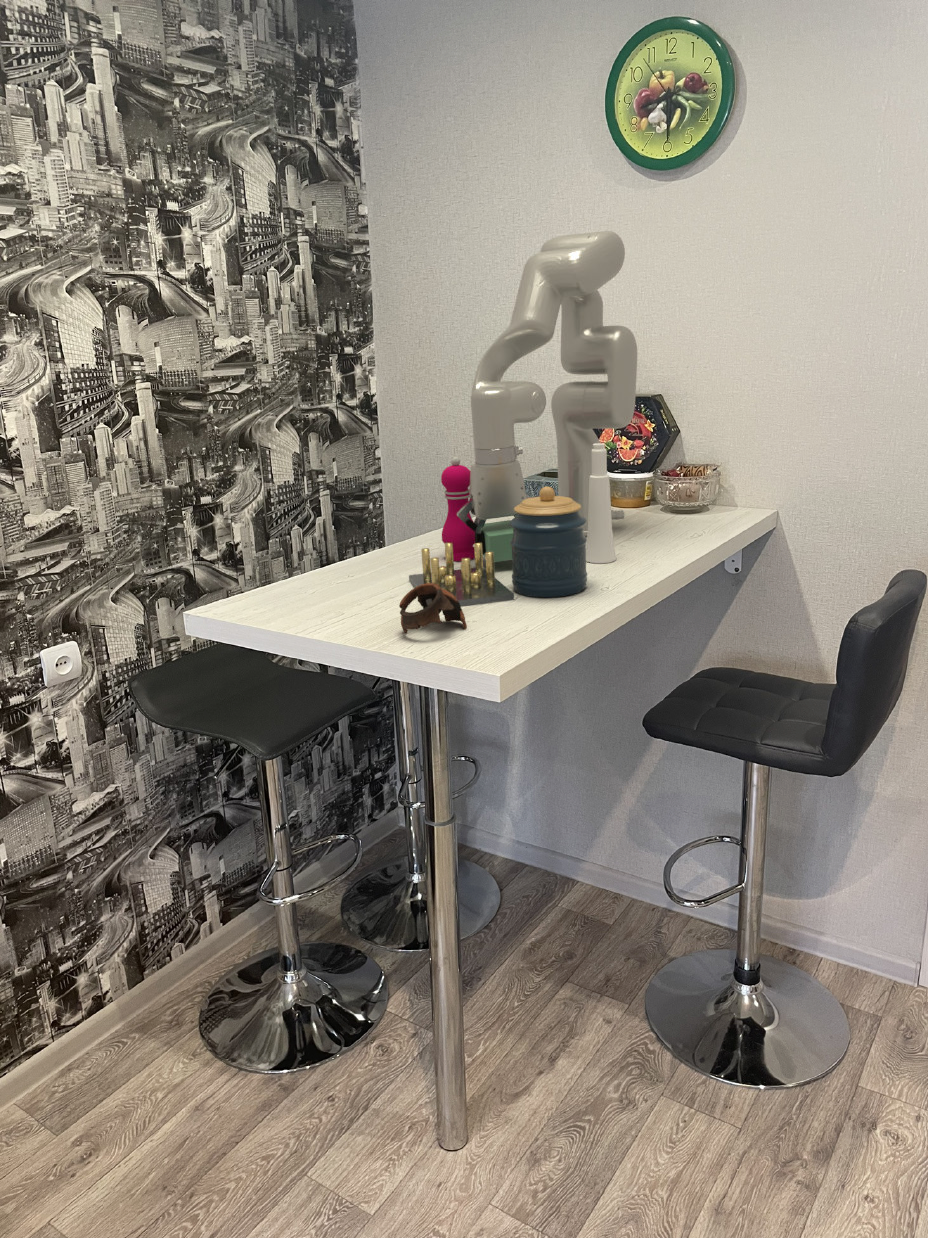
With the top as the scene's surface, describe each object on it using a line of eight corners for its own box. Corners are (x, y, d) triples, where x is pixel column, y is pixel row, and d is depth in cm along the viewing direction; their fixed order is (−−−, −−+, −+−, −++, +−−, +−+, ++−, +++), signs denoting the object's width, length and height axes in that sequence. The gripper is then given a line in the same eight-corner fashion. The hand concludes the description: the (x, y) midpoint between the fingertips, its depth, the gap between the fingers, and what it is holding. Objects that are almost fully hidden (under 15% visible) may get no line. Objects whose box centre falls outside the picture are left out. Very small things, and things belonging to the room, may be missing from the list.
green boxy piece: (511, 544, 184) (510, 520, 182) (527, 557, 174) (525, 531, 173) (477, 549, 182) (475, 524, 181) (491, 562, 173) (489, 536, 171)
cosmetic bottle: (621, 561, 176) (620, 444, 170) (591, 565, 175) (589, 446, 168) (608, 554, 182) (607, 440, 175) (579, 558, 181) (577, 443, 174)
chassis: (482, 572, 174) (481, 535, 172) (514, 599, 156) (512, 558, 154) (409, 580, 171) (406, 543, 169) (432, 609, 153) (429, 568, 151)
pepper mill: (475, 562, 182) (470, 459, 176) (439, 562, 184) (432, 460, 178) (482, 553, 189) (477, 453, 183) (447, 553, 190) (441, 454, 184)
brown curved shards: (477, 636, 140) (453, 597, 135) (423, 667, 141) (396, 629, 136) (459, 597, 150) (436, 559, 145) (408, 626, 151) (383, 589, 146)
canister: (541, 603, 153) (538, 496, 148) (497, 587, 164) (493, 487, 158) (603, 588, 159) (602, 485, 154) (556, 574, 170) (554, 477, 165)
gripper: (533, 448, 177) (538, 538, 183) (444, 458, 174) (452, 551, 180) (546, 453, 171) (551, 547, 176) (454, 465, 167) (462, 560, 173)
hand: (501, 548), depth 178 cm, fingers closed on green boxy piece, 7 cm apart
